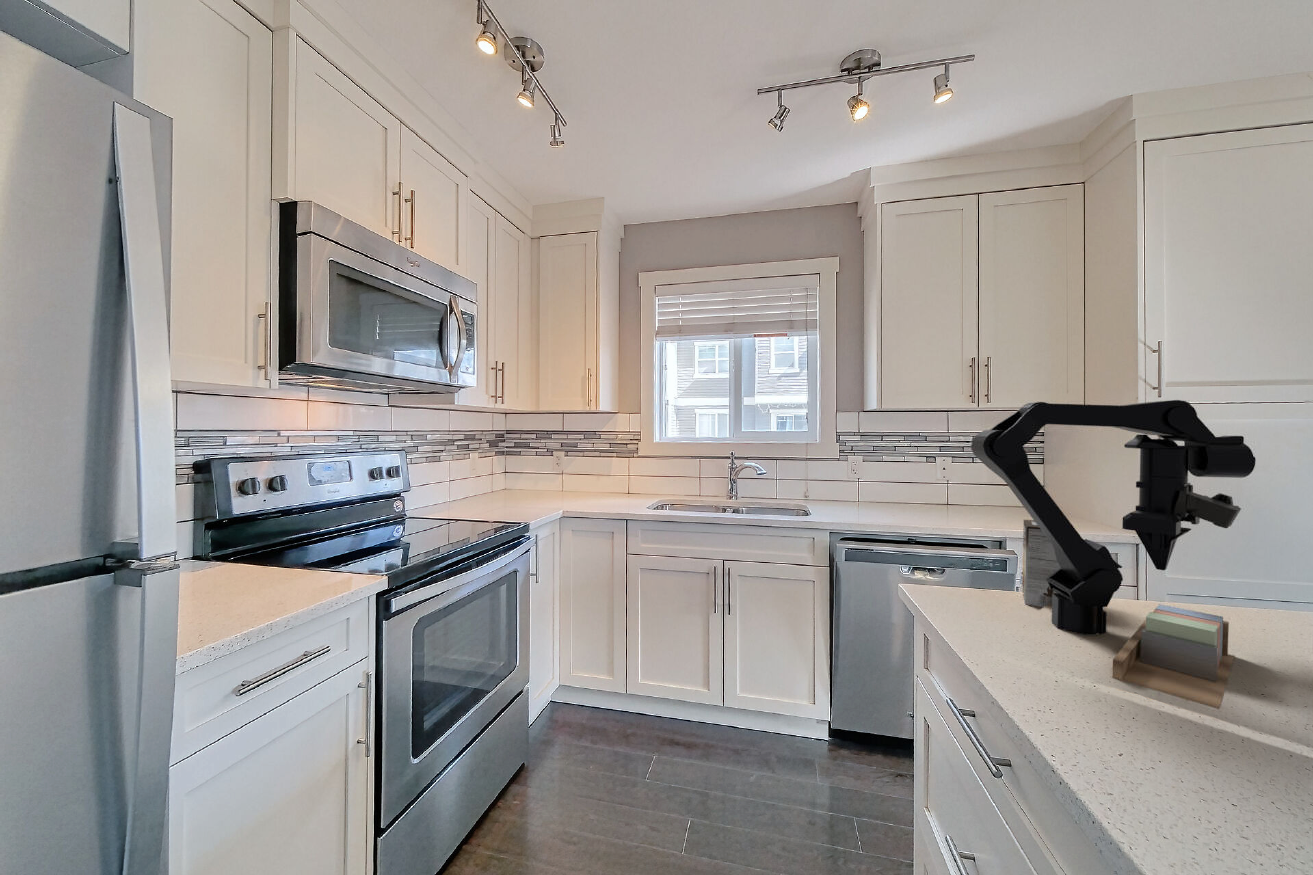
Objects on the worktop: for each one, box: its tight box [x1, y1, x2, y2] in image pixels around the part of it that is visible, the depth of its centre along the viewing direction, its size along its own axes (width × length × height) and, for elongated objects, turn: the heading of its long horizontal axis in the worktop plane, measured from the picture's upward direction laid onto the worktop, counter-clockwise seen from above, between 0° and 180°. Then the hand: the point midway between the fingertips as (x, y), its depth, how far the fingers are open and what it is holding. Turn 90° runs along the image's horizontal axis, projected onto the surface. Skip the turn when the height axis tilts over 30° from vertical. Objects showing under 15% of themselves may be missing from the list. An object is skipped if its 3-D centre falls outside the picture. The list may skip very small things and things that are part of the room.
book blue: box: [1155, 603, 1224, 660], centre depth 80 cm, size 4×7×6 cm, turn 39°
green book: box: [1145, 611, 1218, 646], centre depth 75 cm, size 4×7×6 cm, turn 39°
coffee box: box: [1021, 519, 1060, 608], centre depth 105 cm, size 9×6×16 cm
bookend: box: [1140, 629, 1218, 682], centre depth 73 cm, size 2×8×4 cm, turn 39°
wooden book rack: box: [1112, 607, 1235, 709], centre depth 75 cm, size 24×10×6 cm, turn 129°
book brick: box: [1152, 608, 1221, 666], centre depth 77 cm, size 4×7×6 cm, turn 39°
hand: (1161, 569), depth 86 cm, fingers closed
